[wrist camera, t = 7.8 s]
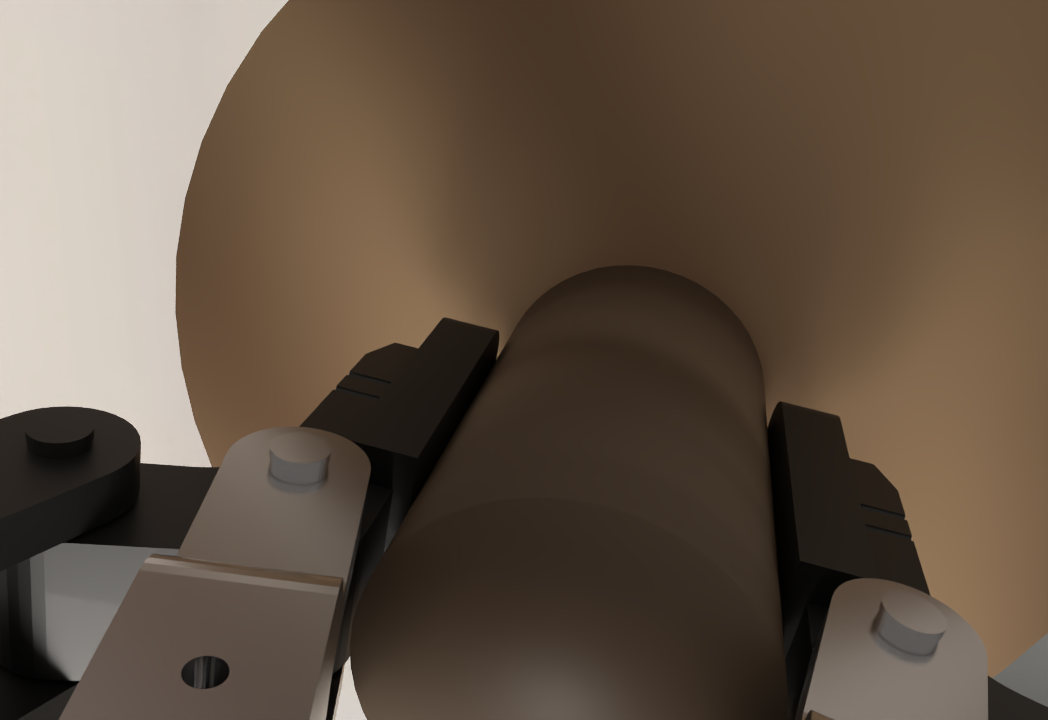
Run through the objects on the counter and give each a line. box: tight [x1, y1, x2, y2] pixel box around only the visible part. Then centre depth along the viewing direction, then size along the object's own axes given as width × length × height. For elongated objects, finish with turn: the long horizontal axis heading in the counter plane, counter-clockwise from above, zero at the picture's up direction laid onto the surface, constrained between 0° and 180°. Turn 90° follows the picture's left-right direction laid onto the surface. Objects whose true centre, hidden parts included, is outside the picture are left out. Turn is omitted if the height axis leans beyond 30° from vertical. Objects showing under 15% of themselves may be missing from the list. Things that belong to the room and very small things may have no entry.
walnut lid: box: [176, 0, 1048, 720], centre depth 11 cm, size 14×14×7 cm
